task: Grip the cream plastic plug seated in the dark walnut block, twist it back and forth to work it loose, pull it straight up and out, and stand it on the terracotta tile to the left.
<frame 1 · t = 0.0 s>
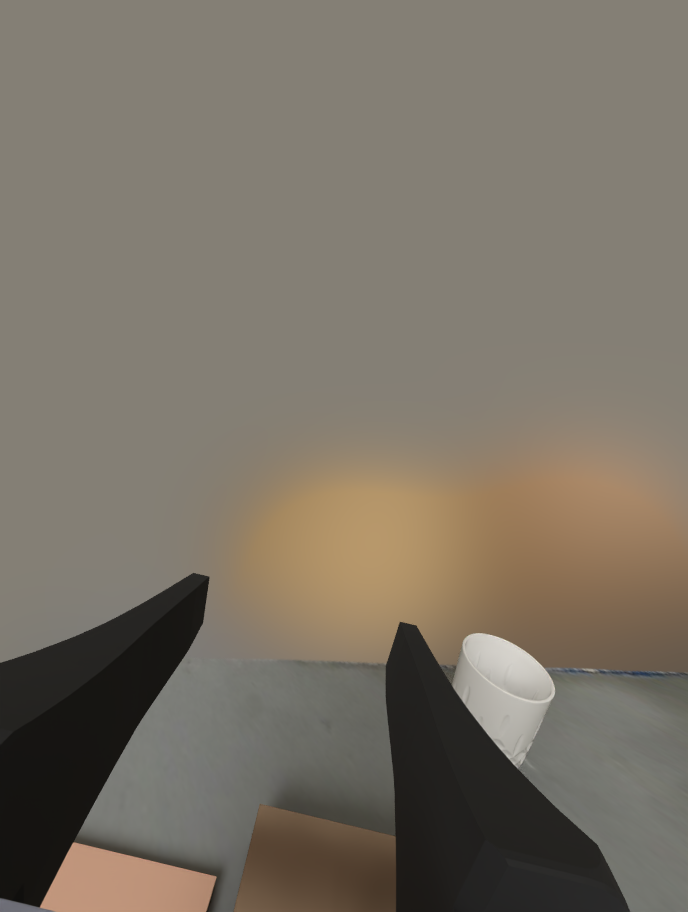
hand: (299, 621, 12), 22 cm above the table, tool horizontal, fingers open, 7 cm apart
white cup: (474, 754, 33), on the table
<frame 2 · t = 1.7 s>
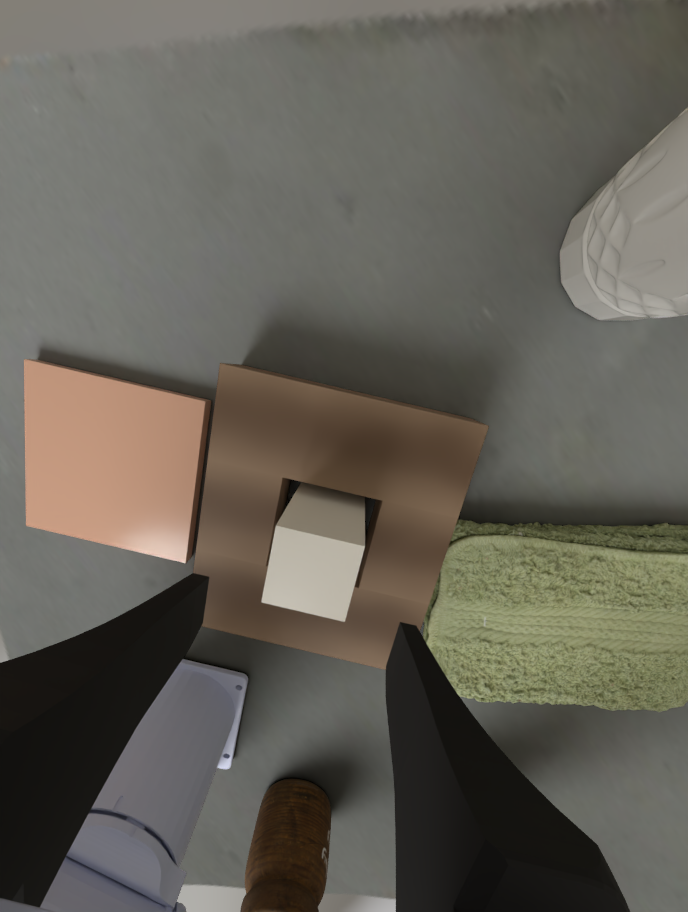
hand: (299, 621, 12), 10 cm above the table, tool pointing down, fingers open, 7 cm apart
header block: (327, 513, 22), on the table
tile: (118, 464, 22), on the table
white cup: (621, 254, 18), on the table
washcloth: (546, 599, 23), on the table
plug: (321, 538, 19), in the header block
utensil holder: (298, 797, 28), on the table
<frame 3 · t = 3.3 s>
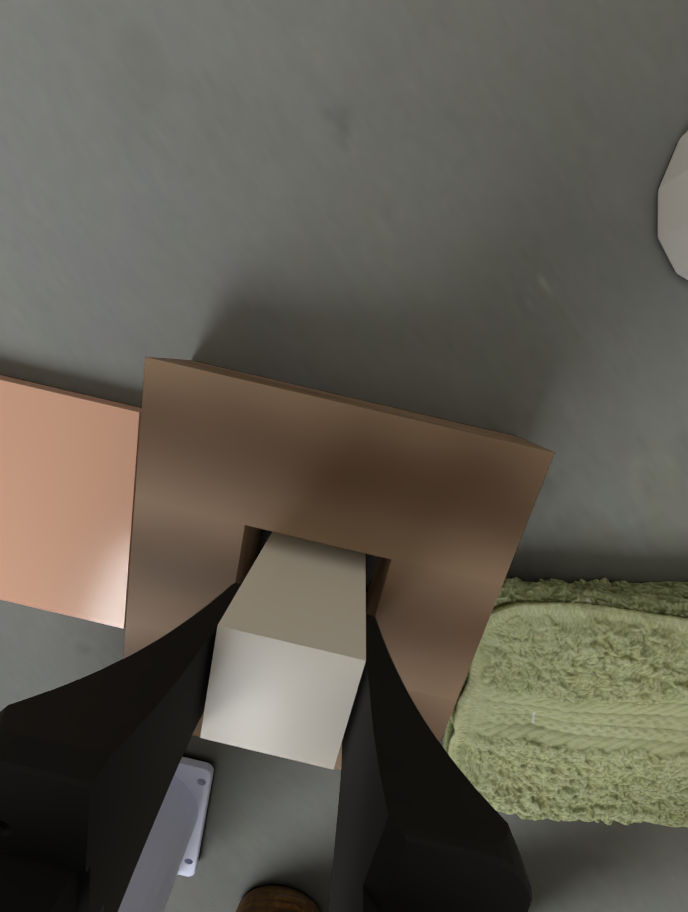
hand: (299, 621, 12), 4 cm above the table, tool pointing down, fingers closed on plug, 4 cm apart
header block: (314, 563, 16), on the table
tile: (30, 496, 16), on the table
washcloth: (609, 674, 17), on the table
plug: (301, 613, 13), in the header block, touching gripper
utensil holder: (282, 904, 23), on the table
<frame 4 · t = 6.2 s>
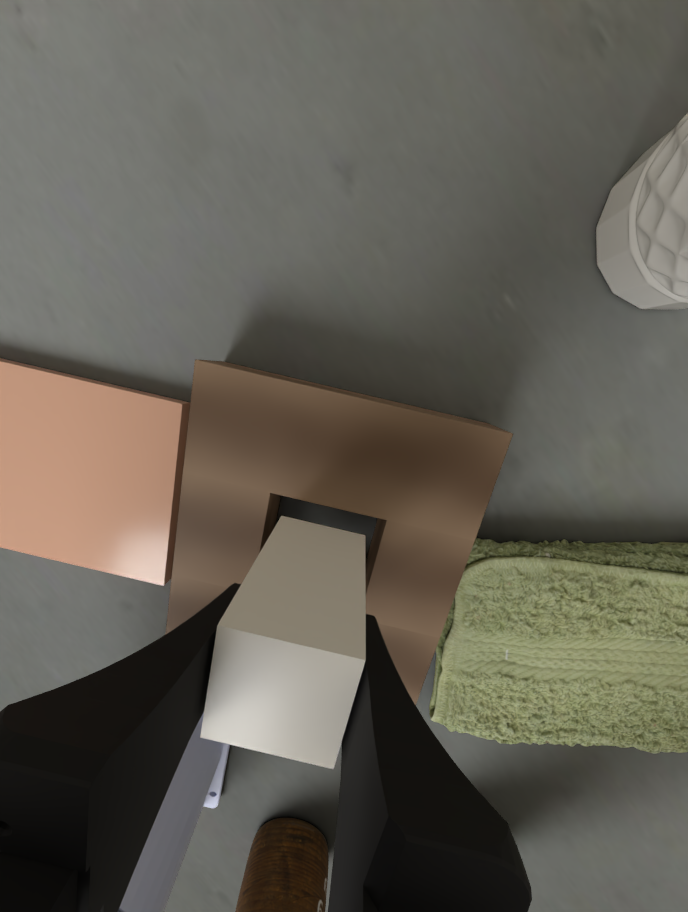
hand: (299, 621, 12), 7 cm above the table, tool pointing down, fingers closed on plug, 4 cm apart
header block: (323, 530, 19), on the table
tile: (87, 474, 19), on the table
white cup: (669, 231, 15), on the table
washcloth: (574, 624, 21), on the table
plug: (301, 613, 13), point 7 cm above the table, touching gripper
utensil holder: (293, 836, 26), on the table
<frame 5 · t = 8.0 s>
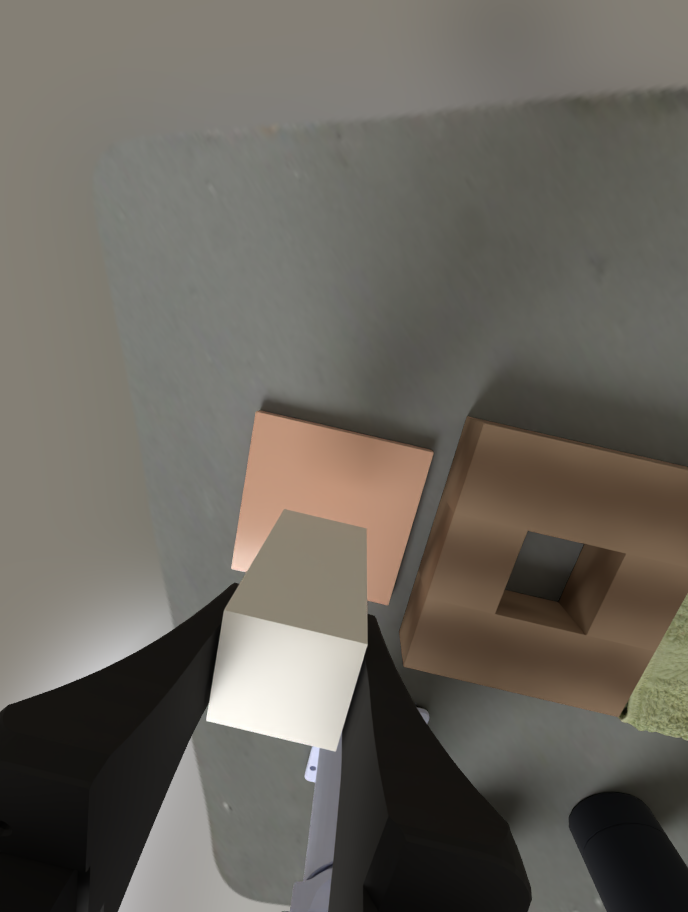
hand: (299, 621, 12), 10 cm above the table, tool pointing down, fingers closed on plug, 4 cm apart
header block: (532, 557, 22), on the table
tile: (327, 509, 22), on the table
plug: (304, 603, 13), point 10 cm above the table, touching gripper
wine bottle: (607, 817, 28), on the table
when the fingers open (6 cm above the table, at t = 9.3 s): plug stays where it is, resting on tile.
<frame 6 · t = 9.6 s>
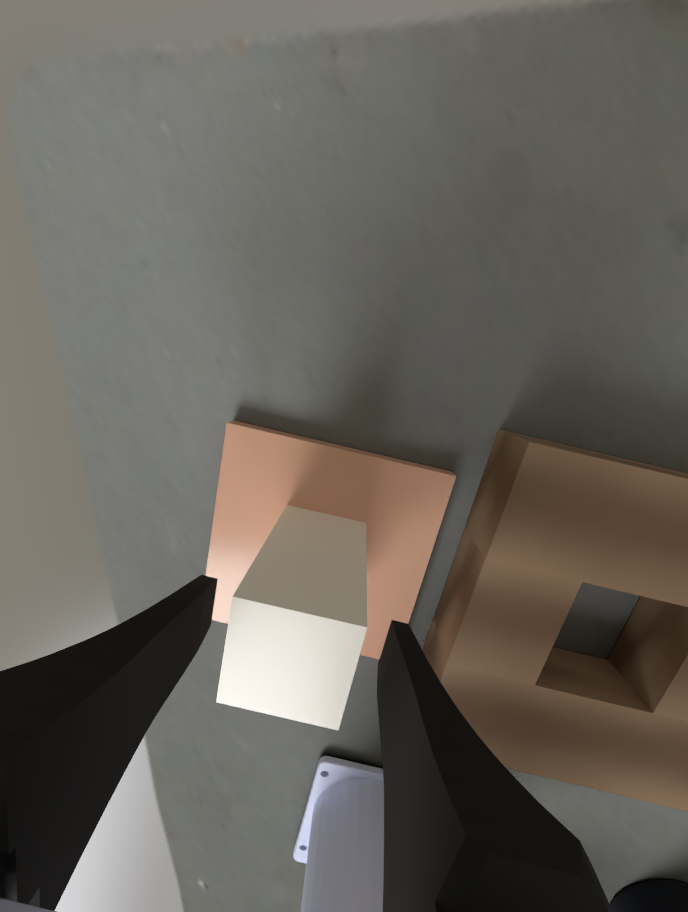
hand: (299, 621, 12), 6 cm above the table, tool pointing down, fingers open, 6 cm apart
header block: (577, 605, 18), on the table
tile: (319, 544, 18), on the table
plug: (307, 593, 14), on the tile, point 4 cm above the table
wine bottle: (655, 905, 23), on the table
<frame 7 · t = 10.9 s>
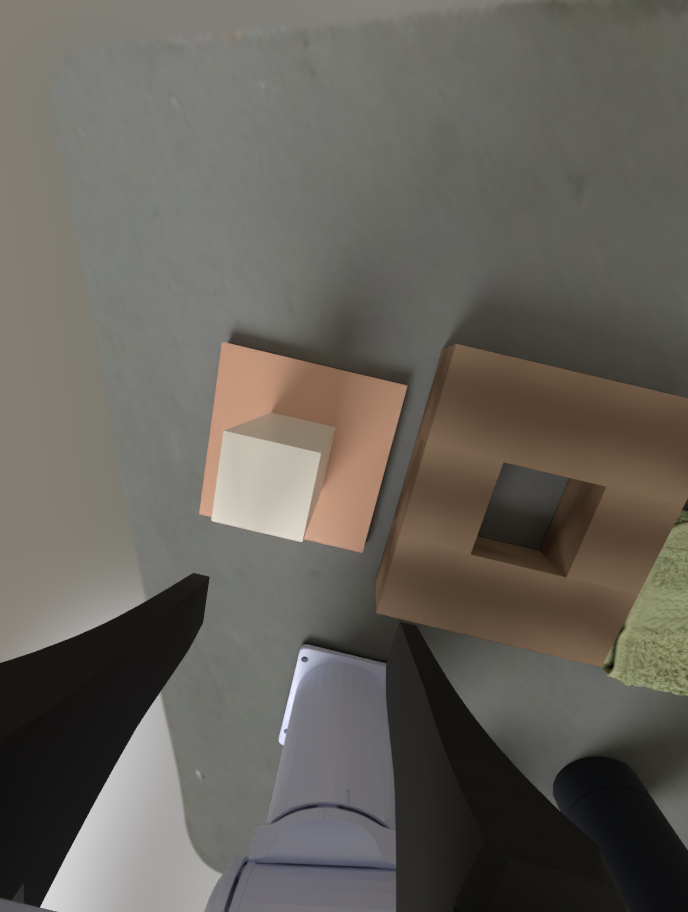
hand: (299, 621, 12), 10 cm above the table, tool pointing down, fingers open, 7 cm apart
header block: (512, 502, 21), on the table
tile: (299, 451, 21), on the table
plug: (284, 466, 17), on the tile, point 4 cm above the table
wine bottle: (593, 784, 27), on the table
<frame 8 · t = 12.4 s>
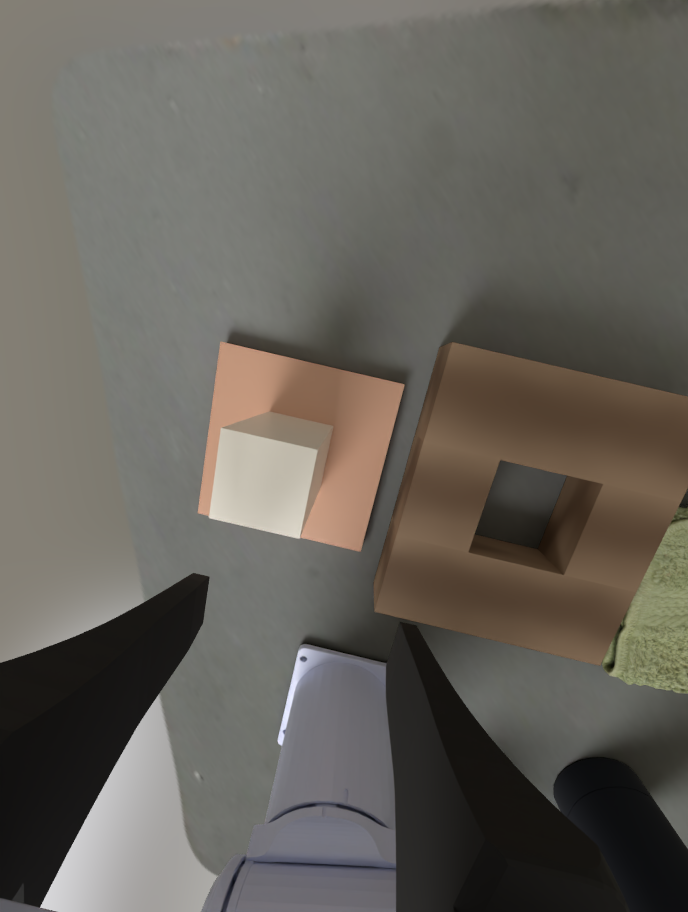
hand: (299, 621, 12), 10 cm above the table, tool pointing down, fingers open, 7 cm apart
header block: (510, 500, 21), on the table
tile: (297, 450, 22), on the table
plug: (281, 464, 17), on the tile, point 4 cm above the table
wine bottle: (593, 785, 26), on the table
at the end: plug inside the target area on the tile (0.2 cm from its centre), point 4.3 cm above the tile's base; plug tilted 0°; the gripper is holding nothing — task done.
